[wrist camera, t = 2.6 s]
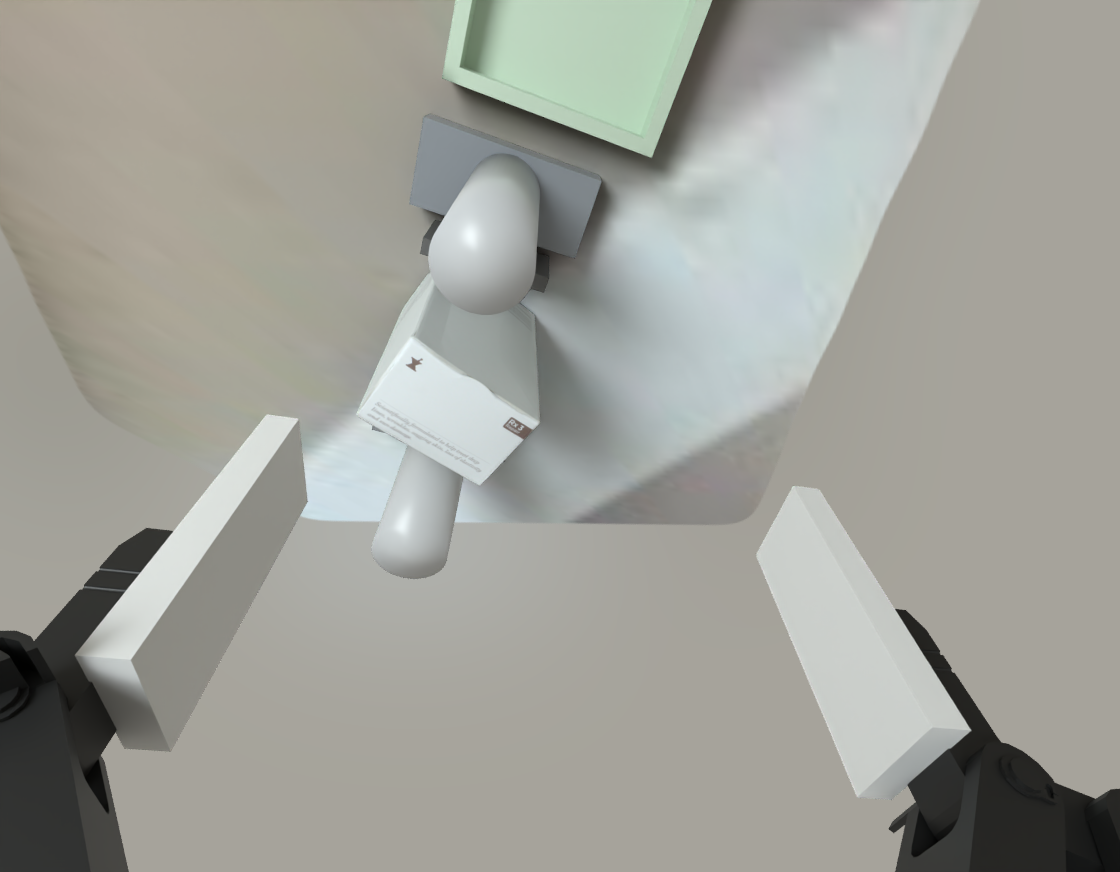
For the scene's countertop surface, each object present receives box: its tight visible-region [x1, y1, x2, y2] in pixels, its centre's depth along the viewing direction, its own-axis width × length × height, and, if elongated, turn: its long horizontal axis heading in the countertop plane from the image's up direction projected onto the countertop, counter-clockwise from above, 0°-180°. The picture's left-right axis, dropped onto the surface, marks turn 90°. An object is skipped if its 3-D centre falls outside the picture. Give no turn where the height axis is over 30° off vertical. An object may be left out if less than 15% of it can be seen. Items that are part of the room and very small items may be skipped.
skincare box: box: [357, 272, 540, 485], centre depth 35 cm, size 8×6×15 cm
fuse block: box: [371, 114, 602, 579], centre depth 34 cm, size 11×23×16 cm, turn 162°
